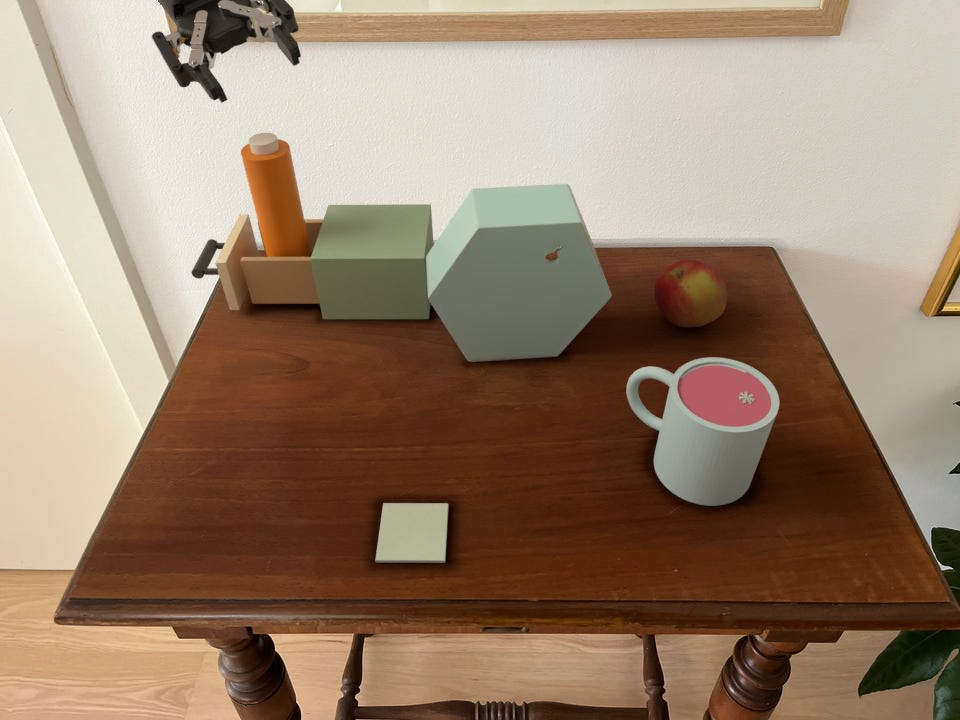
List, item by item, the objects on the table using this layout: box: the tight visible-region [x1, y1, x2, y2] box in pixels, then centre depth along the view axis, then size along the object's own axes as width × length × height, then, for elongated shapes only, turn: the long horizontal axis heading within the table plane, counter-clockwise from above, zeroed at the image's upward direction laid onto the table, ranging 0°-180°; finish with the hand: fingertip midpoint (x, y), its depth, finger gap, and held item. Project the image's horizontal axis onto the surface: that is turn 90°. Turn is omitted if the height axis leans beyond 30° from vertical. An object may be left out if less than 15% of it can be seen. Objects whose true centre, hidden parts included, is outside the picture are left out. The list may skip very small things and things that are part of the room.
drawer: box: [191, 213, 324, 311], centre depth 89 cm, size 16×11×7 cm
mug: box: [625, 356, 780, 507], centre depth 68 cm, size 14×9×10 cm
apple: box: [653, 259, 728, 329], centre depth 83 cm, size 8×8×8 cm
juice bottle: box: [240, 132, 312, 257], centre depth 84 cm, size 5×5×18 cm
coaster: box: [375, 502, 449, 564], centre depth 64 cm, size 6×6×1 cm
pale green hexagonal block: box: [426, 183, 613, 363], centre depth 78 cm, size 17×8×21 cm
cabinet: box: [311, 203, 435, 320], centre depth 88 cm, size 13×12×9 cm
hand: (259, 76), depth 75 cm, fingers open, 8 cm apart
